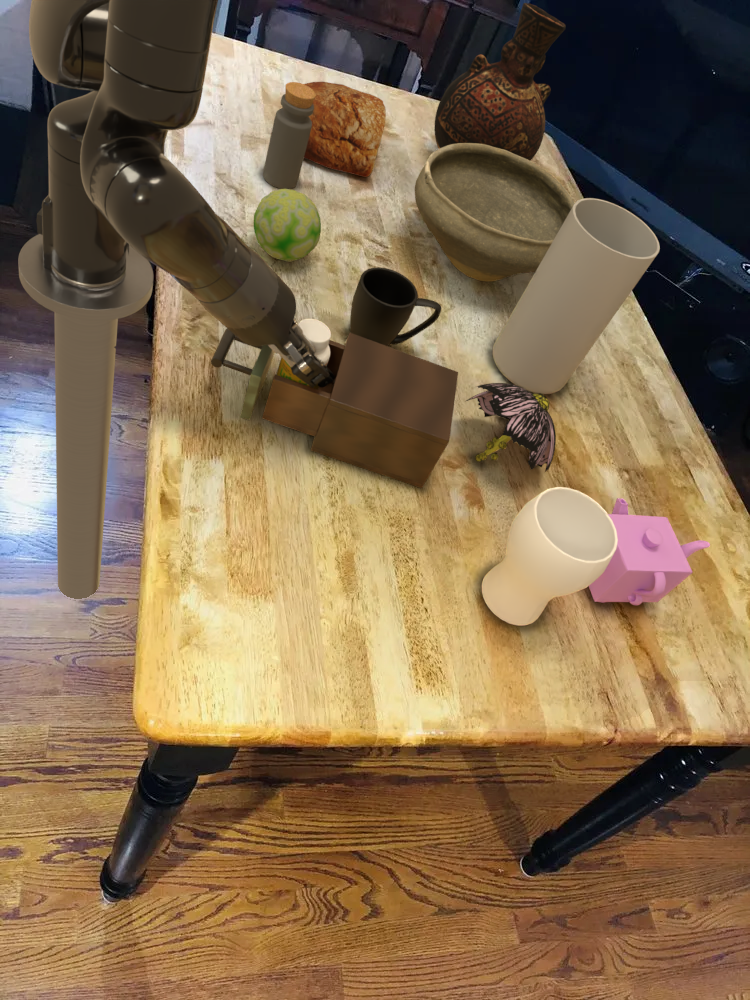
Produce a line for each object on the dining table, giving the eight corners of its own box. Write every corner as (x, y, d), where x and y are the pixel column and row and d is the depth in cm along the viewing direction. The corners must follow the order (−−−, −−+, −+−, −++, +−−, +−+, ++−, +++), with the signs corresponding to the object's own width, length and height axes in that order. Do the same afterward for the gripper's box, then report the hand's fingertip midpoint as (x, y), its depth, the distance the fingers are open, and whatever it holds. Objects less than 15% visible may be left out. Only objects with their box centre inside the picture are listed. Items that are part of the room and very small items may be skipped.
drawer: (198, 403, 90) (207, 358, 85) (225, 344, 98) (234, 299, 92) (346, 453, 93) (363, 413, 87) (361, 392, 100) (378, 352, 95)
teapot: (647, 533, 102) (692, 490, 95) (685, 620, 95) (737, 581, 88) (531, 528, 96) (570, 481, 89) (563, 621, 89) (608, 578, 81)
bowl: (513, 221, 143) (549, 151, 132) (569, 321, 128) (615, 252, 118) (377, 201, 132) (404, 124, 121) (421, 308, 117) (456, 230, 107)
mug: (419, 373, 108) (444, 322, 100) (338, 350, 105) (358, 296, 98) (420, 337, 113) (444, 285, 106) (343, 313, 110) (362, 259, 103)
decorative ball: (261, 276, 110) (275, 216, 102) (238, 233, 114) (250, 172, 107) (322, 275, 114) (340, 217, 107) (298, 233, 119) (314, 175, 111)
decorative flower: (606, 439, 96) (523, 405, 88) (552, 508, 101) (468, 482, 93) (550, 381, 106) (471, 346, 98) (503, 447, 111) (424, 418, 103)
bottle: (260, 182, 124) (279, 92, 113) (264, 164, 128) (284, 75, 117) (295, 193, 125) (317, 105, 114) (298, 175, 129) (321, 88, 118)
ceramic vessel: (421, 181, 141) (489, 9, 119) (416, 135, 152) (477, -32, 129) (523, 212, 147) (606, 52, 124) (511, 164, 157) (585, 9, 135)
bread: (369, 185, 134) (387, 131, 127) (268, 152, 130) (280, 94, 123) (373, 131, 147) (390, 79, 140) (281, 99, 143) (293, 44, 136)
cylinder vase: (478, 337, 117) (557, 193, 99) (544, 339, 122) (631, 203, 104) (509, 396, 111) (600, 254, 92) (577, 396, 116) (676, 262, 97)
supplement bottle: (266, 393, 92) (284, 332, 84) (283, 367, 95) (301, 307, 88) (306, 412, 92) (327, 353, 85) (321, 386, 96) (343, 327, 88)
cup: (544, 563, 93) (609, 490, 82) (560, 642, 87) (634, 574, 76) (464, 552, 90) (521, 474, 79) (475, 632, 84) (539, 560, 73)
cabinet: (310, 450, 92) (329, 399, 86) (330, 383, 101) (349, 332, 94) (421, 488, 94) (449, 441, 88) (432, 419, 103) (458, 371, 96)
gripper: (305, 317, 73) (369, 386, 88) (242, 225, 79) (312, 304, 94) (244, 365, 74) (318, 425, 89) (187, 270, 80) (266, 341, 95)
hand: (315, 362), depth 91 cm, fingers closed on supplement bottle, 5 cm apart
